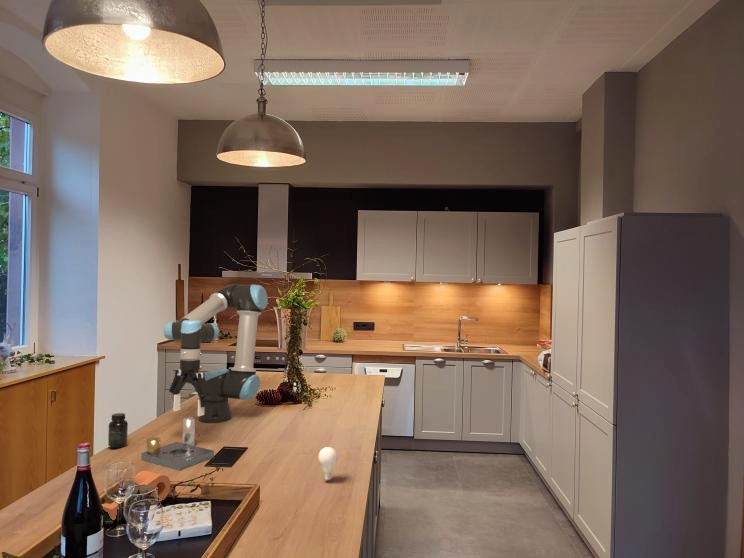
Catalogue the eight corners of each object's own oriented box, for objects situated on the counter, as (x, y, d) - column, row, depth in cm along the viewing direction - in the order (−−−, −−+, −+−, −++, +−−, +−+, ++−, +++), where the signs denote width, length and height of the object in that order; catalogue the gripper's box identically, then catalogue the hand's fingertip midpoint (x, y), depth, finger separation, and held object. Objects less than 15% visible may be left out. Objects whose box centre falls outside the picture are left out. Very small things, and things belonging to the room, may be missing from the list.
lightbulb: (317, 476, 180) (318, 444, 180) (336, 476, 181) (337, 444, 181) (317, 483, 174) (318, 450, 174) (336, 483, 174) (337, 450, 174)
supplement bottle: (113, 441, 213) (114, 412, 213) (130, 442, 212) (131, 412, 212) (104, 447, 206) (105, 416, 206) (121, 447, 206) (122, 417, 206)
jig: (140, 459, 193) (141, 440, 193) (176, 448, 207) (176, 430, 207) (179, 470, 183) (180, 450, 183) (214, 457, 197) (214, 438, 197)
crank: (152, 492, 165) (152, 466, 165) (170, 497, 161) (170, 471, 161) (92, 517, 147) (93, 489, 147) (111, 524, 143) (112, 494, 144)
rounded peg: (179, 446, 208) (180, 419, 208) (188, 443, 212) (189, 416, 212) (187, 448, 206) (188, 420, 206) (197, 445, 210) (197, 418, 210)
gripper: (160, 357, 212) (159, 410, 211) (205, 363, 200) (204, 419, 199) (176, 355, 218) (174, 407, 218) (220, 361, 206) (218, 415, 206)
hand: (188, 413), depth 209 cm, fingers open, 13 cm apart
